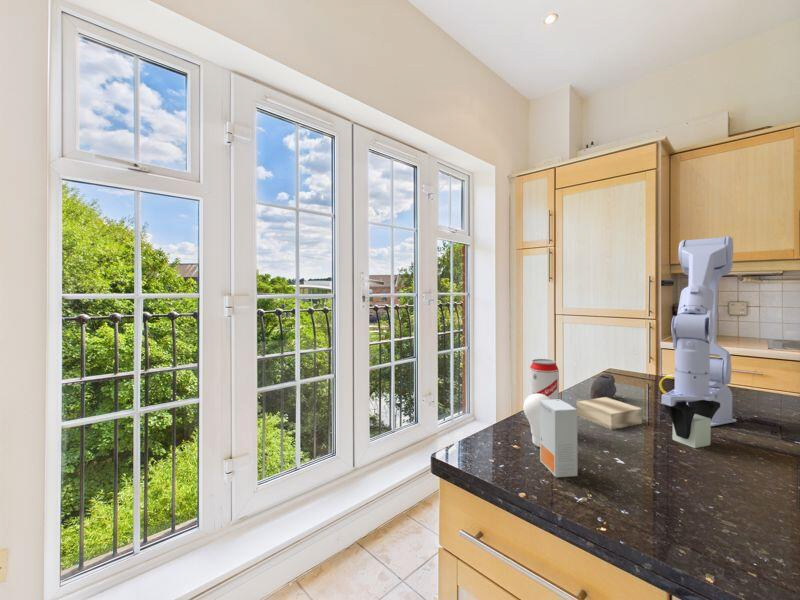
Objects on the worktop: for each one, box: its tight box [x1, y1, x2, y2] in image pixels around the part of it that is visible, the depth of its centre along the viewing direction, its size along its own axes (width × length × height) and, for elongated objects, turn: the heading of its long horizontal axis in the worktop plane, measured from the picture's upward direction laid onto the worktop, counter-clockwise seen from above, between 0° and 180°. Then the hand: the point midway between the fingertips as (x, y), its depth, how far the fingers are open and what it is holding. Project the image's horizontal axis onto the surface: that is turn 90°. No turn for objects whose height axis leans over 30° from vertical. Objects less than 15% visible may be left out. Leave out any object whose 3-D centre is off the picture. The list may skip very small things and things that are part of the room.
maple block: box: [576, 397, 643, 431], centre depth 91 cm, size 10×10×4 cm
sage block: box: [671, 414, 712, 449], centre depth 77 cm, size 4×4×6 cm
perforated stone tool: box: [589, 373, 617, 399], centre depth 105 cm, size 15×5×7 cm, turn 136°
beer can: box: [529, 358, 560, 400], centre depth 85 cm, size 6×6×16 cm
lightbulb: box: [522, 394, 551, 448], centre depth 76 cm, size 6×6×11 cm
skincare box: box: [539, 398, 579, 478], centre depth 67 cm, size 6×4×12 cm
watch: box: [658, 374, 675, 394], centre depth 110 cm, size 6×3×6 cm, turn 41°
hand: (691, 435), depth 77 cm, fingers closed on sage block, 4 cm apart
